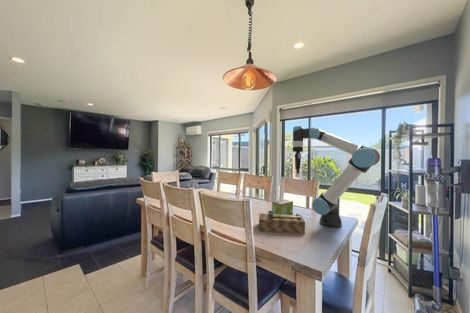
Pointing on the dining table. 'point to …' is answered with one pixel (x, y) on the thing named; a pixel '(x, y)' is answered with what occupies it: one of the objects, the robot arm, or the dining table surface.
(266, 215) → the walnut chest
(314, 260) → the dining table surface
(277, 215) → the latch bar
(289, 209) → the tea box
